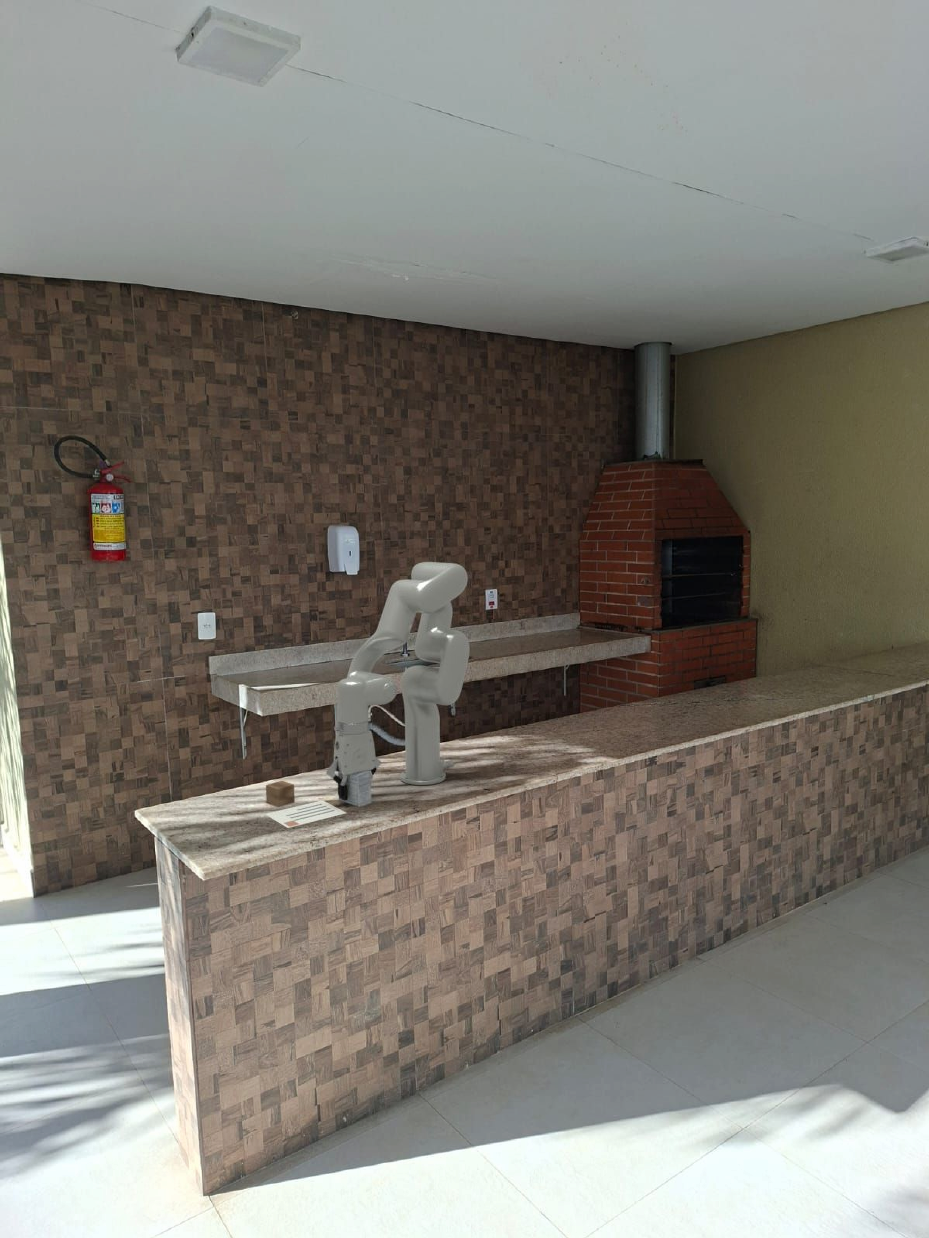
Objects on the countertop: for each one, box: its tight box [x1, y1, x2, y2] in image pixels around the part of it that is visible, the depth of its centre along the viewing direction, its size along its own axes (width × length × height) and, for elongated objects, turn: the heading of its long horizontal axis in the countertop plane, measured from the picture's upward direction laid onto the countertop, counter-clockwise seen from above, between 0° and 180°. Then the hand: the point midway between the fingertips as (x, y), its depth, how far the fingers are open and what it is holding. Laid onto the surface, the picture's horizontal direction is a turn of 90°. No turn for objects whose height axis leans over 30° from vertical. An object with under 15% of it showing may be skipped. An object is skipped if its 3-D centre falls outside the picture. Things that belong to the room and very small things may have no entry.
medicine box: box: [338, 771, 372, 808], centre depth 222 cm, size 8×4×9 cm, turn 48°
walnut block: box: [265, 780, 296, 808], centre depth 222 cm, size 5×5×5 cm
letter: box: [264, 799, 347, 829], centre depth 214 cm, size 16×12×1 cm
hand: (354, 795), depth 223 cm, fingers open, 6 cm apart
